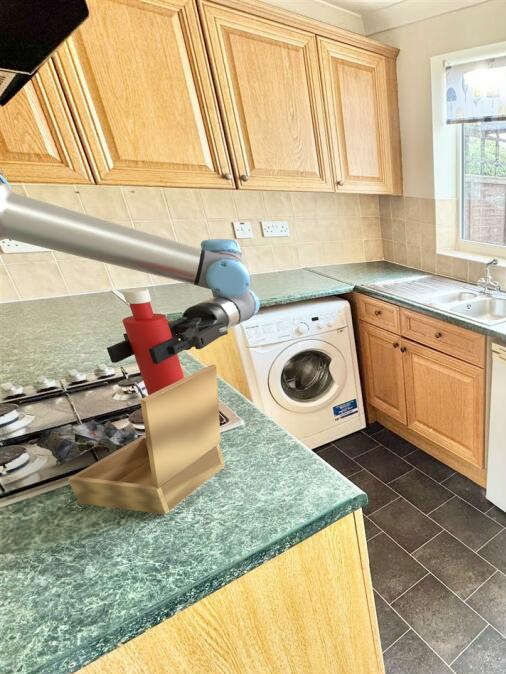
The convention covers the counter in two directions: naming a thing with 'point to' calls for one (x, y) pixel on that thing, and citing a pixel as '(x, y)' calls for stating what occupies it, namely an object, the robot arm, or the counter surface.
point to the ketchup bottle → (149, 341)
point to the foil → (84, 439)
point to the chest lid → (181, 423)
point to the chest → (140, 480)
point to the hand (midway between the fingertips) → (132, 356)
